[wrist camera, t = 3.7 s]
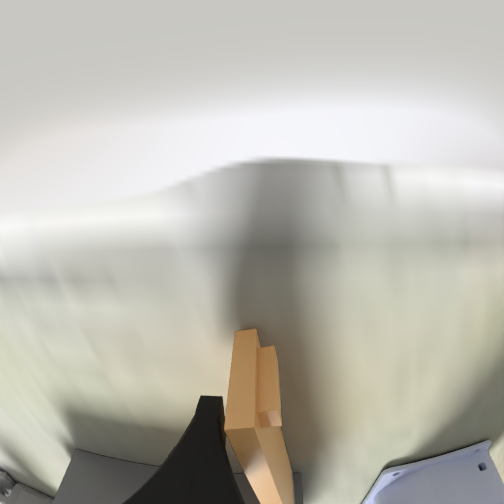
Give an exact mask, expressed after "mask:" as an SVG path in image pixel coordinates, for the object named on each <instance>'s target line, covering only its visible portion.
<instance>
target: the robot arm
mask: <svg viewBox="0 0 504 504" xmlns="http://www.w3.org/2000/svg"><path fill="white" fill-rule="evenodd" d="M224 426H225V415H224V406H223V397H222V396H200V399H199V402H198V405H197V408H196V412H195V415H194V417H193V419H192V421H191V422H190V424H189V426H188V428H187V429H186V431H185V432H184V434H183V436H182V437H181V439H180V440H179V442H178V443H177V445H176V446H175V447H174V449H173V450H172V452H171V453H170V454H169V456H168V457H167V458H166V460H165V461H164V462H163V463H162V465H161V466H160V467H159V468H158V469H157V471H156V472H155V473H154V474H153V475H152V476H151V477H150V478H149V479H148V480H147V481H146V482H145V483H144V484H143V485H142V486H141V487H140V488H139V489H138V490H137V491H136V492H135V493H134V494H133V495H132V496H130V497H129V498H128V499H127V500H126V501H124V502H123V503H122V504H245V502H244V500H243V497H242V495H241V493H240V490H239V488H238V486H237V483H236V480H235V478H234V475H233V472H232V469H231V466H230V463H229V460H228V457H227V453H226V449H225V442H226V433H225V431H224ZM490 446H491V441H490V440H487V441H484V442H481V443H478V444H476V445H473V446H470V447H467V448H464V449H461V450H458V451H454V452H451V453H448V454H444V455H441V456H437V457H434V458H430V459H426V460H422V461H418V462H414V463H410V464H406V465H401V466H396V467H391V468H387V469H385V470H384V471H383V472H382V473H381V474H380V476H379V478H378V479H377V481H376V483H375V484H374V486H373V487H372V489H371V490H370V492H369V494H368V495H367V497H366V498H365V500H364V501H363V503H362V504H504V483H503V481H502V479H501V477H500V475H499V473H498V471H497V469H496V466H495V464H494V462H493V460H492V458H491V456H490V454H489V452H488V448H489V447H490Z"/></svg>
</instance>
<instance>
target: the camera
mask: <svg viewBox="0 0 504 504" xmlns="http://www.w3.org/2000/svg"><path fill="white" fill-rule="evenodd" d="M53 501H54V498H51V497H49V496H47V495H45V494H42V493H40V492H38V491H36V490H34V489H32V488H30V487H28V486H26V485H24V484H22V483H17V484H16V483H15V482H14V481H13V480H12V479H11V478H10V477H9V476H8V474H7V473H6V472H2V471H0V504H53Z"/></svg>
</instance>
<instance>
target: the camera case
mask: <svg viewBox="0 0 504 504" xmlns="http://www.w3.org/2000/svg"><path fill="white" fill-rule="evenodd" d="M158 468H159V467H158V466H152V465H145V464H140V463H134V462H129V461H124V460H119V459H114V458H110V457H105V456H101V455H97V454H93V453H89V452H85V451H81V450H78V449H76V450H75V452H74V455H73V457H72V459H71V461H70V464H69V466H68V468H67V470H66V473H65V475H64V477H63V480H62V482H61V484H60V487H59V489H58V492H57V494H56V496H55V499H54V501H53V504H122V503H123V502H124V501H126V500H127V499H128V498H129V497H130V496H132V495H133V494H134V493H135V492H136V491H137V490H138V489H139V488H140V487H141V486H142V485H143V484H144V483H145V482H146V481H147V480H148V479H149V478H150V477H151V476H152V475H153V474H154V473H155V472H156V471H157V469H158ZM233 475H234V478H235V480H236V483H237V486H238V488H239V490H240V493H241V495H242V497H243V500H244V502H245V504H261V503H260V501H259V500H258V498H257V496H256V494H255V492H254V490H253V488H252V486H251V484H250V482H249V480H248V478H247V476H246V474H234V473H233ZM293 480H294V495H295V504H303V494H302V482H301V473H293Z"/></svg>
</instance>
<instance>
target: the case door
mask: <svg viewBox="0 0 504 504" xmlns="http://www.w3.org/2000/svg"><path fill="white" fill-rule="evenodd" d="M281 426H282V417H281V400H280V384H279V368H278V359H277V355H276V350H275V345H274V346H268V347H261V346H260V342H259V338H258V334H257V329H256V328H255V329H249V330H242V331H235V335H234V344H233V353H232V362H231V371H230V380H229V389H228V398H227V407H226V416H225V426H224V431H225V433H226V435H227V437H228V439H229V442H230V444H231V446H232V448H233V450H234V452H235V454H236V456H237V458H238V460H239V462H240V464H241V466H242V468H243V470H244V472H245V474H246V476H247V478H248V480H249V482H250V484H251V486H252V488H253V490H254V492H255V494H256V496H257V498H258V500H259V501H260V503H261V504H295V495H294V480H293V471H292V470H291V466H290V462H289V458H288V454H287V450H286V446H285V442H284V438H283V434H282V430H281Z"/></svg>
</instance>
